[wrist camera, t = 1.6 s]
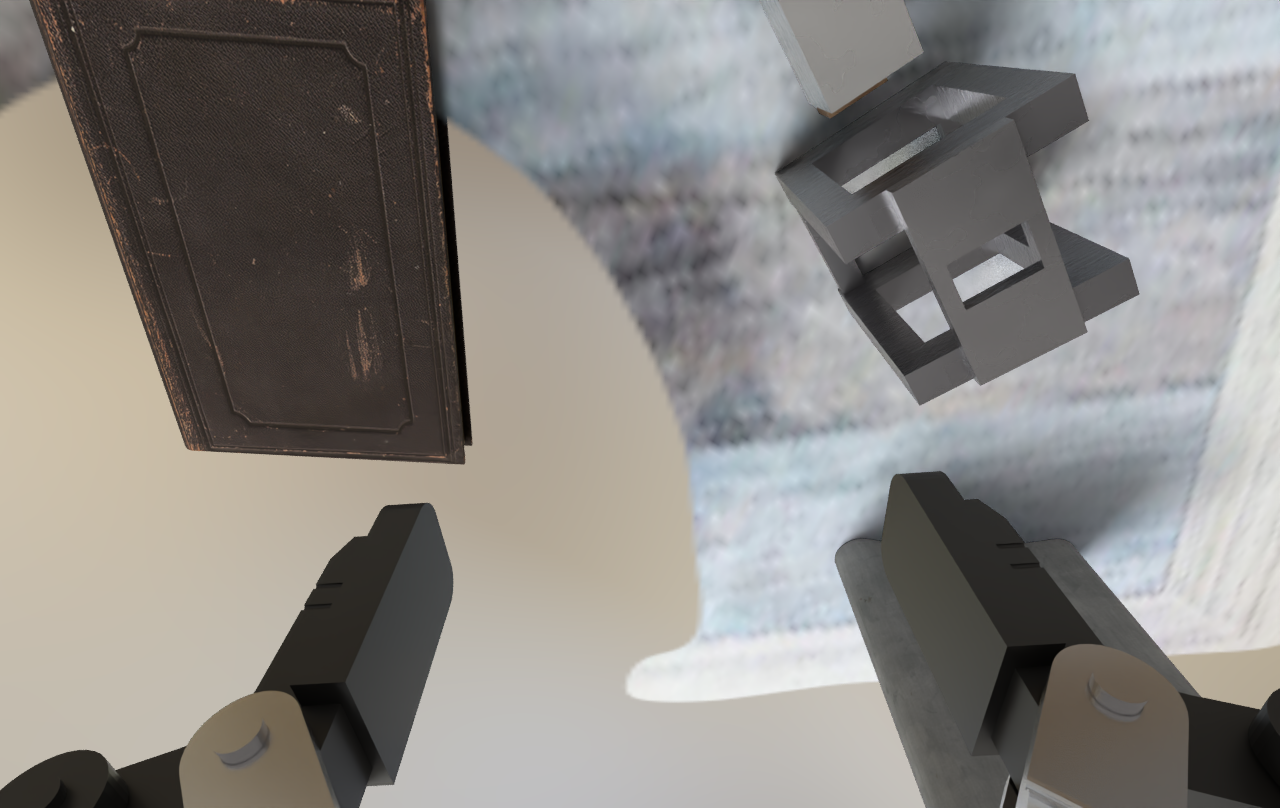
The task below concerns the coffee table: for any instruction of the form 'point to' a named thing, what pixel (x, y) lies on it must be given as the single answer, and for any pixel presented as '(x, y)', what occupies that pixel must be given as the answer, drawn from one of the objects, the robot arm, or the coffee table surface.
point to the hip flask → (936, 751)
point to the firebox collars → (958, 224)
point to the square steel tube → (842, 44)
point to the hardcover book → (278, 216)
